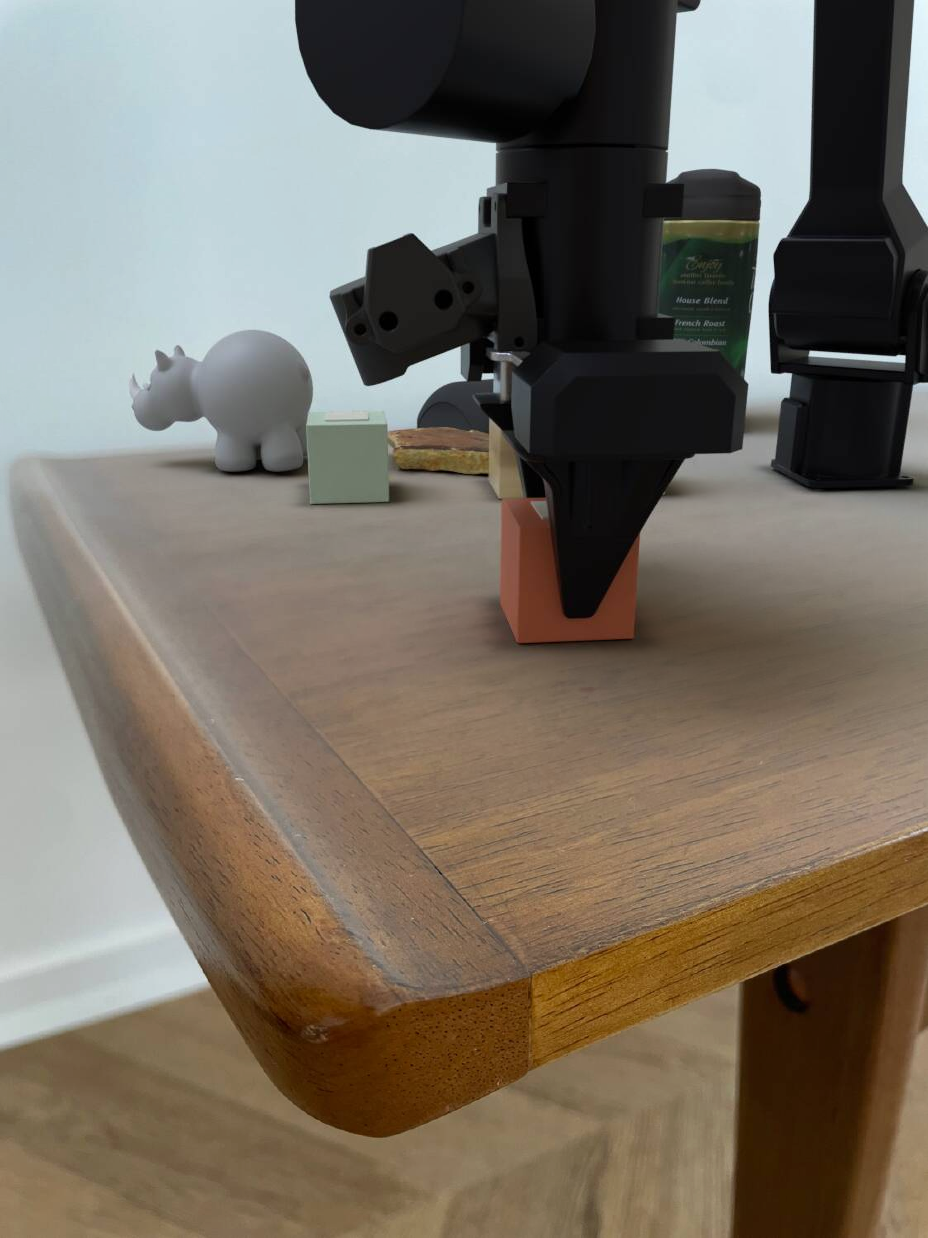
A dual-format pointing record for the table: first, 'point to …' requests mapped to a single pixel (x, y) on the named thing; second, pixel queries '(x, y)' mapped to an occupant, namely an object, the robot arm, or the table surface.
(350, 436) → the row block
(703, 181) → the coffee jar
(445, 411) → the computer mouse
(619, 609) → the orange cube
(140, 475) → the table surface
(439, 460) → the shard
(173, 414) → the toy rhinoceros
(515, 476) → the row block
